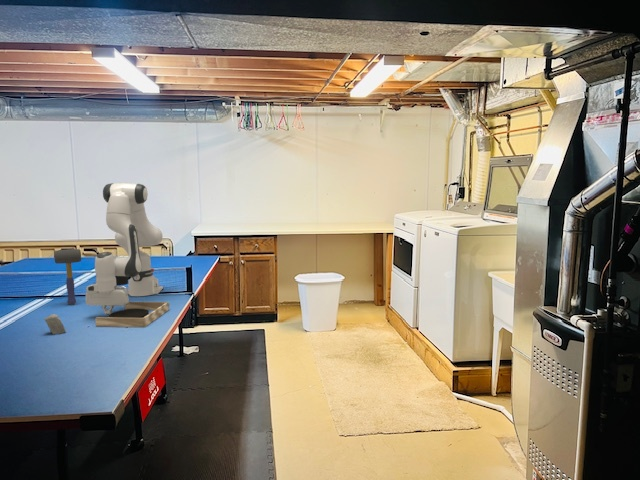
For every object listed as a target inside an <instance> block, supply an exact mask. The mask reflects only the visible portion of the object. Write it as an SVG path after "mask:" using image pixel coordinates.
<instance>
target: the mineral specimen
mask: <svg viewBox="0 0 640 480" xmlns="http://www.w3.org/2000/svg"><path fill="white" fill-rule="evenodd" d="M44 321H45V323H46V325H47V327H48V328H49V330H50V333H52V335H57V334H58V335H60V334H65V333H67V331H66V328H65V327H64V324H63V322H62V320H61V318H60V317H59V316H58V315H57V314H56V313H52V314H50V315H49V316H47V317H45V318H44Z"/></svg>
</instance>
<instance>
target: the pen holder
mask: <svg viewBox="0 0 640 480" xmlns="http://www.w3.org/2000/svg"><path fill="white" fill-rule="evenodd" d="M115 277H116V286H125V285H127V284H128V285H129V277H127V276H115Z"/></svg>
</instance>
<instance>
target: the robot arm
mask: <svg viewBox="0 0 640 480" xmlns="http://www.w3.org/2000/svg"><path fill="white" fill-rule="evenodd" d="M148 195H149V194H148V189H147V187H146V186H145V185H144V184H141V183H132V182H131V183H130V182H122V183H121V182H120V183H119V182H118V183H113V182H112V183H107V184H105V185H104V186H103V189H102V197H103V200H104V201H105V202H106V203H107V206H106V213H105V223H106V225H107V227H108V229H110V230H111V231H113V232H114V233H115V235H114V240H115V242H116V244H117V245H118V246H119V247H121V248H122V249H123V250H124V251H125V253H126V254H127V256H116V255H114V254H113V253H112V252H111V251H104V252H100V253H98V254H96V255H95V258H94V272H95V275H96V276H95V277H96V278H95V282H94V283H93V284H89V285H88V286H86V287H85V290H86V293H85V304H86V305H87V306H101V308H102V310H103V311H104V314H105V315H110V314H112V313H113V309H114V308H115V306H117V307H119V306H120V307H122V306H123V307H125V305H127V304H128V303H129V302H130V299H129V296H130V297H145V296H151V295H158V294H159V293H160V292H161V291H162V290H163V289H164V286H162V285H161V286H160V284H159V283H160V282H159V279H158V278H157V277H156V276H155V275H154V272H155V268H153V267H152V264H151V263H152V262H151V256H150V255H149V254H148V253H146V252H145V251H142V250H141V248H140V247H153V246H157V245H160V244H161V242H162V241H163V238H164V237H163V232H162V231H161V230H160V228H159V227H157V226H155V225H153V223H151V221H150V220H149V219H148V217H147V213H146V208H145V202H146V201H147V200H148ZM115 276H127V277H128V288H127V287H125V285H116V277H115ZM108 308H109V309H108Z"/></svg>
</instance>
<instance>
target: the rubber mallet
mask: <svg viewBox="0 0 640 480" xmlns="http://www.w3.org/2000/svg"><path fill="white" fill-rule="evenodd" d="M53 254H54V256H53V257H54V263H55V264H65V265H66V266H65V268H66V280H65V281H66V282H65V286H66V291H67V303H68V305H69V306H72V305H75V304H76V302H77V300H76V296H75V295H76V294H75V281H74V278H73V269H72V264H74V263H80V262H82V252H81V249H79V248H75V249H74V248H71V249H70V248H69V249H67V248H66V249H61V250H60V249H58V250H55V251H54V253H53Z"/></svg>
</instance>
